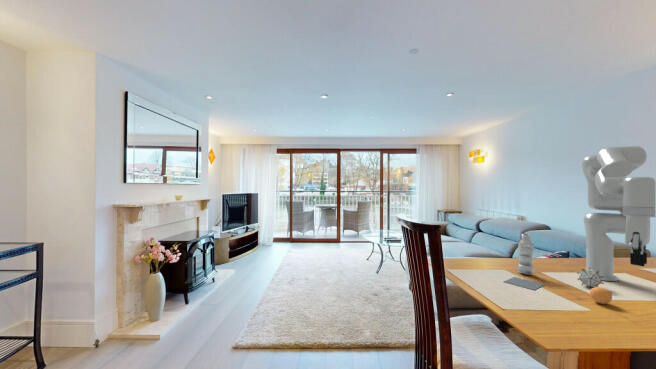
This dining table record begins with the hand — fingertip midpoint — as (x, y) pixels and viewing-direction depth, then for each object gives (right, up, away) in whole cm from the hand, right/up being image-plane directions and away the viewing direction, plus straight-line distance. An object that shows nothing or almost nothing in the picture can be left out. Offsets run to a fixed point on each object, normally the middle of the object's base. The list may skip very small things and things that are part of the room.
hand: (638, 263), depth 95 cm
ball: (-6, -14, +8) cm, 17 cm away
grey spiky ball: (+7, -18, +25) cm, 31 cm away
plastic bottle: (-9, -18, +42) cm, 46 cm away
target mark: (-20, -17, +28) cm, 39 cm away
